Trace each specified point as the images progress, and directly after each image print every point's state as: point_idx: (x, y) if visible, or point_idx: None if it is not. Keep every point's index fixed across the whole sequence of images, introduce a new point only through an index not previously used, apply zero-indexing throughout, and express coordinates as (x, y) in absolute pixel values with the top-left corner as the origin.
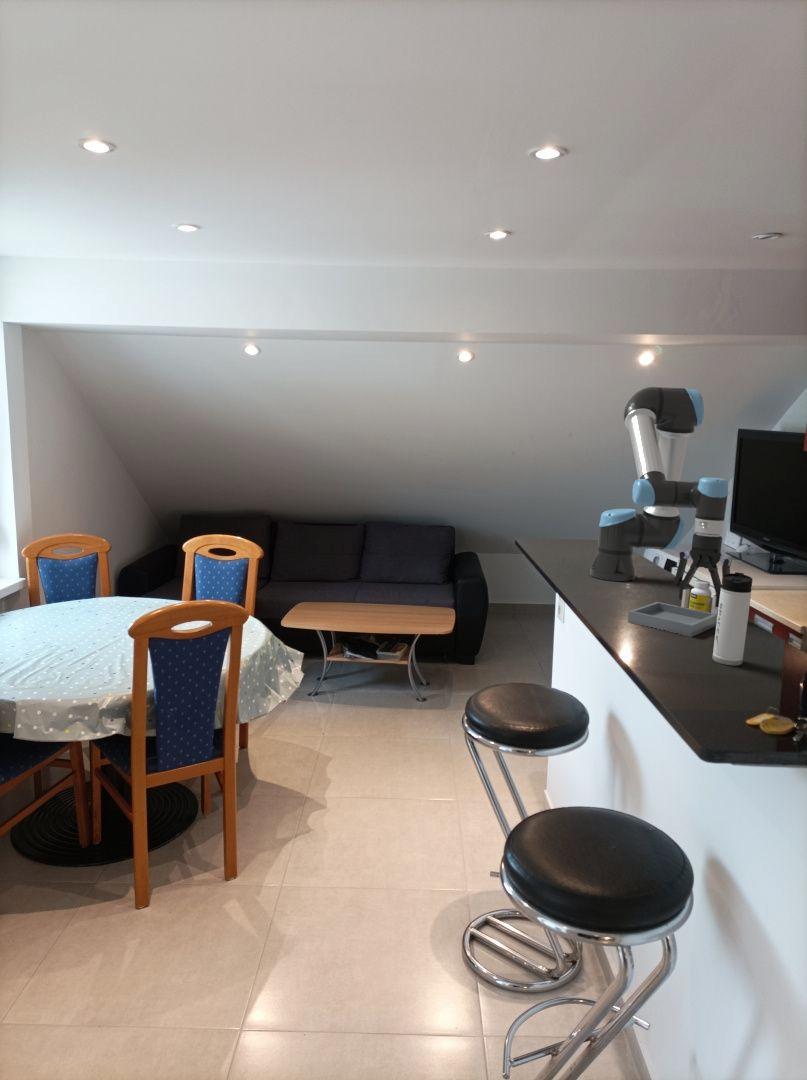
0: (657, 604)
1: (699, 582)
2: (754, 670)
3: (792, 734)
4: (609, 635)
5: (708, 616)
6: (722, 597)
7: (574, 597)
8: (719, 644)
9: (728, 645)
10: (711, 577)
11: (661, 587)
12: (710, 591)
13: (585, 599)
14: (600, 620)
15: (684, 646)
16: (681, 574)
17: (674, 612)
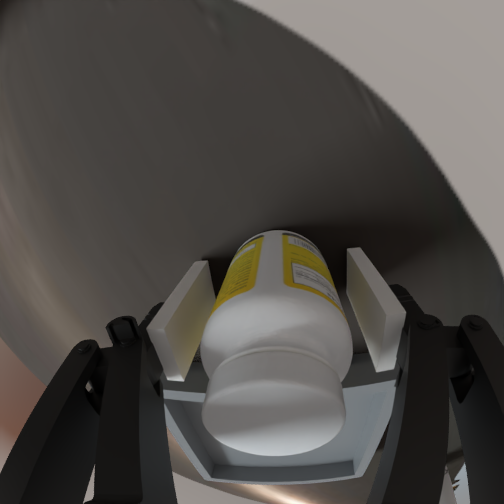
0: (166, 401)
1: (274, 455)
2: (454, 459)
3: (456, 487)
4: (252, 497)
5: (379, 417)
6: None
7: (21, 358)
8: None
9: None
10: (374, 487)
11: (4, 31)
12: (347, 355)
13: (31, 359)
14: (178, 466)
15: (363, 477)
16: (90, 432)
17: None
